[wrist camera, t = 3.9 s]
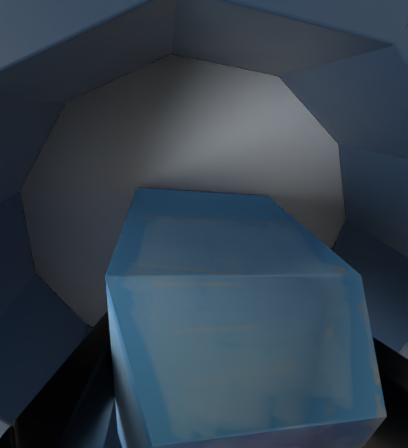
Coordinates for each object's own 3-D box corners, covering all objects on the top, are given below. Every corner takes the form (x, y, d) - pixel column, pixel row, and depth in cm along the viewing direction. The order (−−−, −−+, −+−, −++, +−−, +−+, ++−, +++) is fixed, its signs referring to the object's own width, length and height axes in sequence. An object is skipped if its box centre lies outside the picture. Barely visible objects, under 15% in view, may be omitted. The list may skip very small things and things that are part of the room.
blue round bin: (414, 206, 13) (555, 263, 9) (218, 380, 18) (237, 481, 13) (145, -122, 7) (92, -703, 2) (-53, 287, 12) (-213, 420, 7)
